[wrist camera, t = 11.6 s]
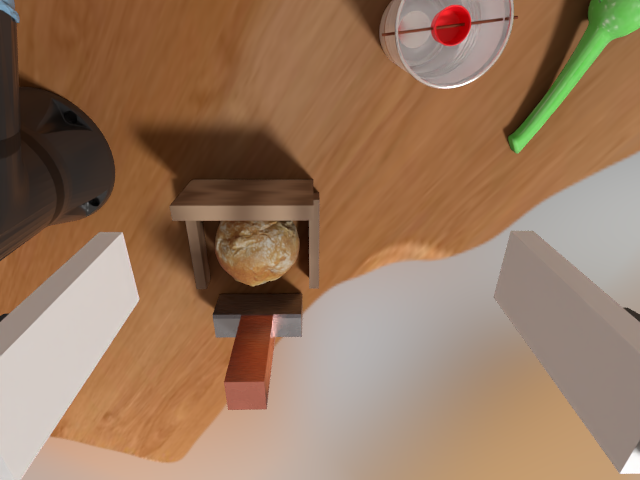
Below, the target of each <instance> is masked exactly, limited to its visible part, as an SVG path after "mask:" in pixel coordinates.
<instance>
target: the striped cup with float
mask: <svg viewBox="0 0 640 480" xmlns="http://www.w3.org/2000/svg"><path fill="white" fill-rule="evenodd" d="M517 18H518V16H514V3H513V0H392V1H391V2H390V3H389V5H388V6H387V8H386V9H385V11H384V13H383V16H382V19H381V23H380V30H379V35H380V42H381V46H382V49H383V51H384V53H385V54H386V56H387V57H388V58H389V59H390V60H391V61H392V62H393V63H395V64H396V65H398V66H399V67H400V68H402V69H403V70H405V71H407V72H408V73H410V74H411V75H412V76H413V77H414V78H415V79H416V80H418V81H419V82H421V83H423V84H425V85H427V86H430V87H433V88H439V89H452V88H457V87H461V86H464V85H466V84H469V83H471V82H473V81H474V80H476V79H478V78H479V77H480V76H482V75H483V74H484V73H485V72H487V71H488V70H489V69H490V68H491V67H492V66H493V64H494V63H495V62H496V61H497V59H498V58H499V57H500V55H501V53H502V52H503V50H504V48H505V46H506V44H507V41H508V39H509V36H510V33H511V29H512V25H513V19H517Z"/></svg>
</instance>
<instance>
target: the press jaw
mask: <svg viewBox="0 0 640 480" xmlns="http://www.w3.org/2000/svg"><path fill="white" fill-rule="evenodd" d="M213 321H214V327H215V334H216V337H235V341H234V345H233V349H232V353H231V357H230V361H229V365H228V369H227V373H226V377H225V381H224V385H225V391H226V398H227V405H228V410H245V409H267V401H268V392H269V384H270V376H271V366H272V359H273V351H274V342H275V337H299V336H300V337H302V294H220V296H219V299H218V301H217V304H216V307H215V310H214V313H213Z"/></svg>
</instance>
